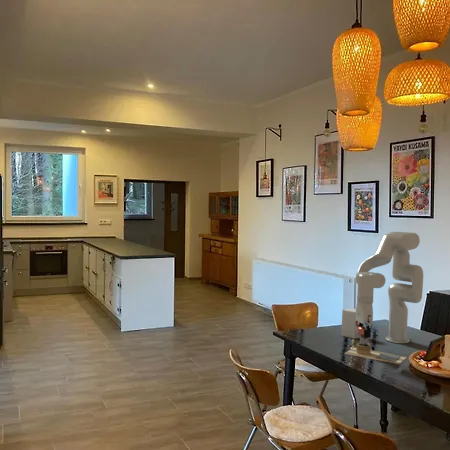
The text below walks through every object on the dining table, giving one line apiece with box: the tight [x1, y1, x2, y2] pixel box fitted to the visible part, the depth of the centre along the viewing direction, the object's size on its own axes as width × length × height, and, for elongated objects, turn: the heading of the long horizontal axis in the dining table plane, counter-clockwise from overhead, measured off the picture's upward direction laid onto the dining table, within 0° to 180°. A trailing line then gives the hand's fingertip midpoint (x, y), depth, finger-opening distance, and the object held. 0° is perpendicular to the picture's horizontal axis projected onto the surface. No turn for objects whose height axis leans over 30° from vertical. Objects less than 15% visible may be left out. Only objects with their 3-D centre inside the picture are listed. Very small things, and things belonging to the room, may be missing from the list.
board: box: [344, 342, 408, 368], centre depth 238 cm, size 14×26×6 cm, turn 55°
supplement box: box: [341, 307, 365, 339], centre depth 279 cm, size 9×9×15 cm
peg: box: [357, 325, 369, 346], centre depth 241 cm, size 6×6×11 cm
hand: (364, 335), depth 241 cm, fingers closed on peg, 6 cm apart
